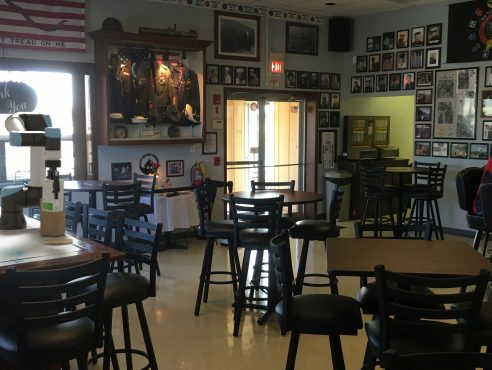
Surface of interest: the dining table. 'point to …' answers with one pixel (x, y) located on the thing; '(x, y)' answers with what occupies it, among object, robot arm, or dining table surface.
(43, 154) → the robot arm
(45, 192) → the skincare box
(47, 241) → the cork trivet
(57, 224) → the wooden block
